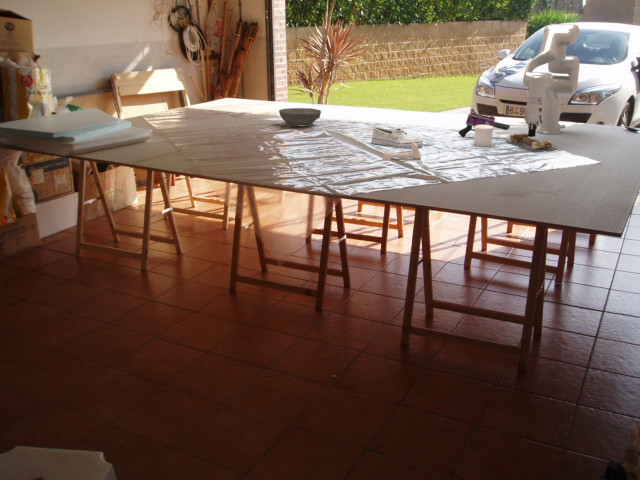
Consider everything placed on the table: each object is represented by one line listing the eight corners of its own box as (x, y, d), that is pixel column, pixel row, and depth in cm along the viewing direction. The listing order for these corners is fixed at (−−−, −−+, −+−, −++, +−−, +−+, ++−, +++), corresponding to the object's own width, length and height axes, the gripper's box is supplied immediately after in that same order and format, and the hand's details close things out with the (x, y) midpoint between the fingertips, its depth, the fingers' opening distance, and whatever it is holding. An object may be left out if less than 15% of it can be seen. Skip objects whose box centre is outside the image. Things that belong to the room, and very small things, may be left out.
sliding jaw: (547, 146, 299) (548, 139, 298) (551, 147, 296) (552, 140, 295) (531, 147, 297) (531, 141, 295) (534, 148, 294) (535, 142, 293)
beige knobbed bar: (386, 168, 288) (379, 149, 285) (420, 155, 286) (414, 136, 283) (387, 170, 285) (380, 151, 281) (421, 157, 283) (416, 138, 279)
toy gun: (503, 147, 326) (512, 121, 320) (457, 136, 329) (465, 110, 323) (502, 146, 329) (511, 120, 323) (457, 135, 332) (465, 109, 326)
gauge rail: (523, 140, 318) (524, 132, 317) (553, 150, 295) (554, 141, 293) (507, 142, 316) (508, 133, 314) (536, 152, 293) (537, 143, 291)
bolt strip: (526, 140, 319) (526, 138, 318) (557, 150, 296) (557, 148, 295) (505, 142, 316) (505, 140, 315) (534, 152, 292) (534, 150, 292)
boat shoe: (419, 149, 304) (420, 131, 300) (367, 145, 315) (367, 127, 312) (425, 145, 312) (425, 127, 309) (374, 141, 324) (374, 124, 321)
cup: (481, 147, 305) (483, 128, 301) (468, 144, 313) (470, 125, 310) (495, 145, 309) (497, 126, 306) (482, 142, 317) (484, 124, 314)
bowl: (278, 123, 383) (278, 107, 379) (318, 121, 385) (318, 106, 382) (280, 130, 359) (279, 114, 355) (323, 128, 361) (323, 112, 358)
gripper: (551, 102, 289) (546, 138, 296) (533, 97, 302) (529, 132, 309) (537, 103, 287) (533, 140, 294) (520, 98, 300) (516, 134, 307)
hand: (531, 136), depth 302 cm, fingers closed
